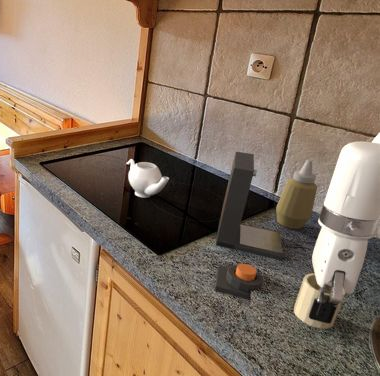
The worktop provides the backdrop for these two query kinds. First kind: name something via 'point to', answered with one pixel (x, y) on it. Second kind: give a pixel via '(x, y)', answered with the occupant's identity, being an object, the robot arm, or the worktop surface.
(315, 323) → the cup
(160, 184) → the teapot
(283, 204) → the squeeze bottle
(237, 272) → the button
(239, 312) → the worktop surface
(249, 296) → the dark grey button base
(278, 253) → the coffee maker
